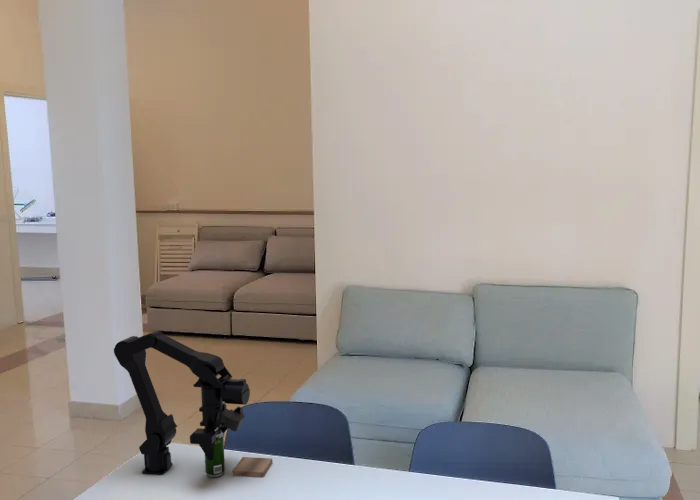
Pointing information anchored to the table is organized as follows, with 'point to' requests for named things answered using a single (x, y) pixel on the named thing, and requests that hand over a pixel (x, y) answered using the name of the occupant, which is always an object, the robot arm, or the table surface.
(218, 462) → the beer can
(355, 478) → the table surface
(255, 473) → the brown square coaster
